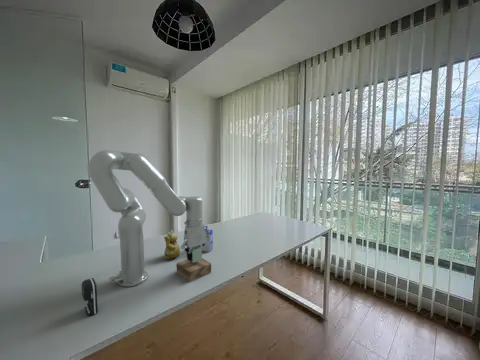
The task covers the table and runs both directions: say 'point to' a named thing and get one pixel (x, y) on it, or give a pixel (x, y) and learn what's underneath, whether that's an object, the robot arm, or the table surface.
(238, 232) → the table surface
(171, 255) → the decorative figurine
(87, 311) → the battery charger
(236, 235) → the table surface
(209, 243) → the ink cartridge box
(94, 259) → the table surface
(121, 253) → the robot arm
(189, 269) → the walnut block
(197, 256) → the sage block
